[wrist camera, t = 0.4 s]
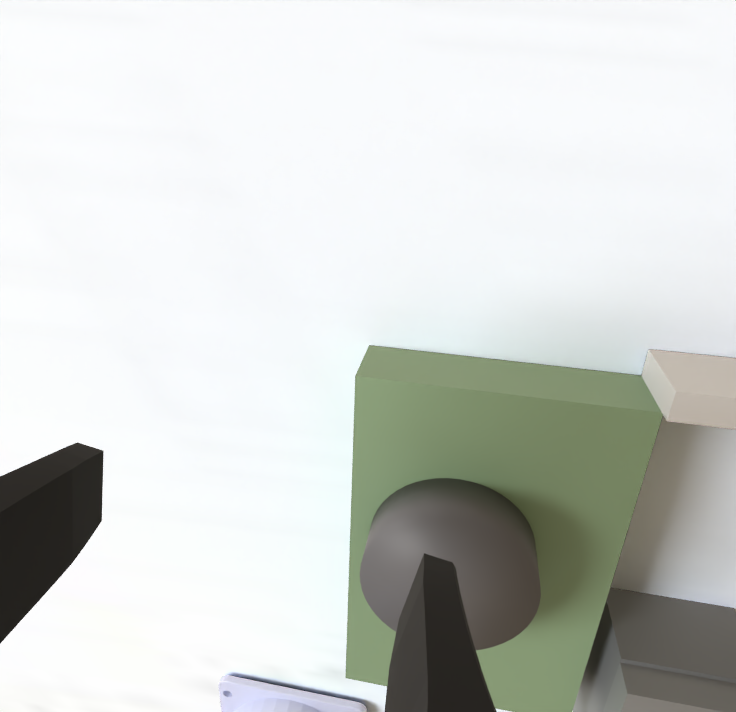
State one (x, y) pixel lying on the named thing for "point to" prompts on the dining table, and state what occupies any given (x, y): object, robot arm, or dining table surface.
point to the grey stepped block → (660, 657)
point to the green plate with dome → (507, 500)
